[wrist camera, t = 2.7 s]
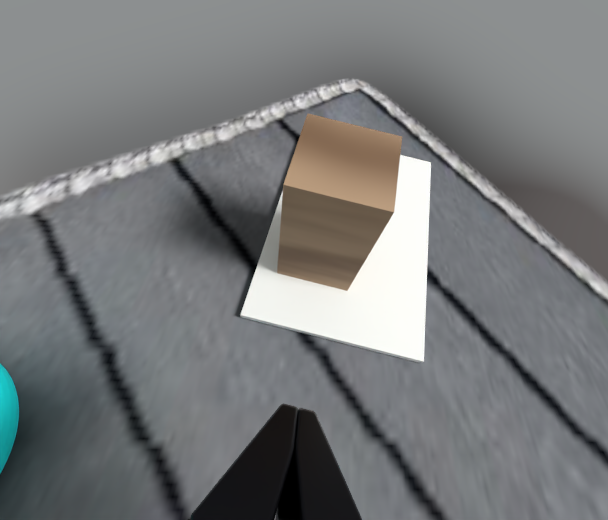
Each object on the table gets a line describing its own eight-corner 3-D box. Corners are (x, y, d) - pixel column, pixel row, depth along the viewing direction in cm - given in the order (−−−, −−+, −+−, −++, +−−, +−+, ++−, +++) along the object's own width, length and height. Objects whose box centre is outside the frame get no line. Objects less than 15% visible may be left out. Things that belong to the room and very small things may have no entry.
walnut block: (347, 290, 22) (394, 212, 14) (276, 273, 22) (283, 184, 14) (357, 232, 24) (402, 136, 16) (293, 216, 24) (307, 113, 16)
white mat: (420, 363, 20) (423, 361, 20) (240, 317, 20) (240, 315, 20) (428, 166, 29) (430, 162, 28) (302, 135, 29) (302, 131, 29)
